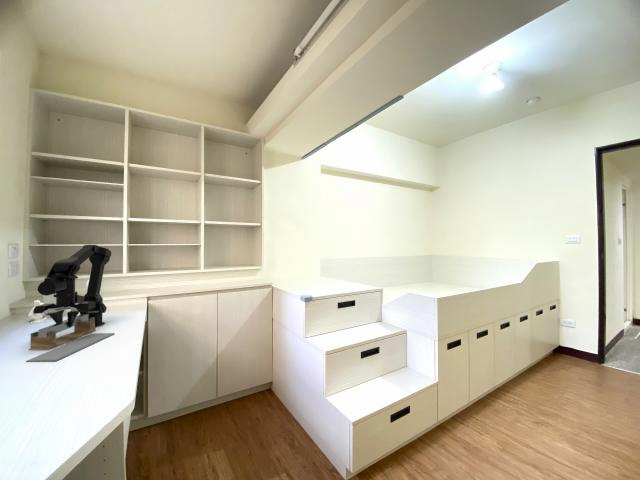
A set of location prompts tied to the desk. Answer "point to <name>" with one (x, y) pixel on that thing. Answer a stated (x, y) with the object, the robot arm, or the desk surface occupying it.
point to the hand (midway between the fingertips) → (65, 327)
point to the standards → (54, 342)
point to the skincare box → (49, 300)
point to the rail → (62, 325)
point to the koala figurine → (38, 315)
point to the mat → (70, 348)
